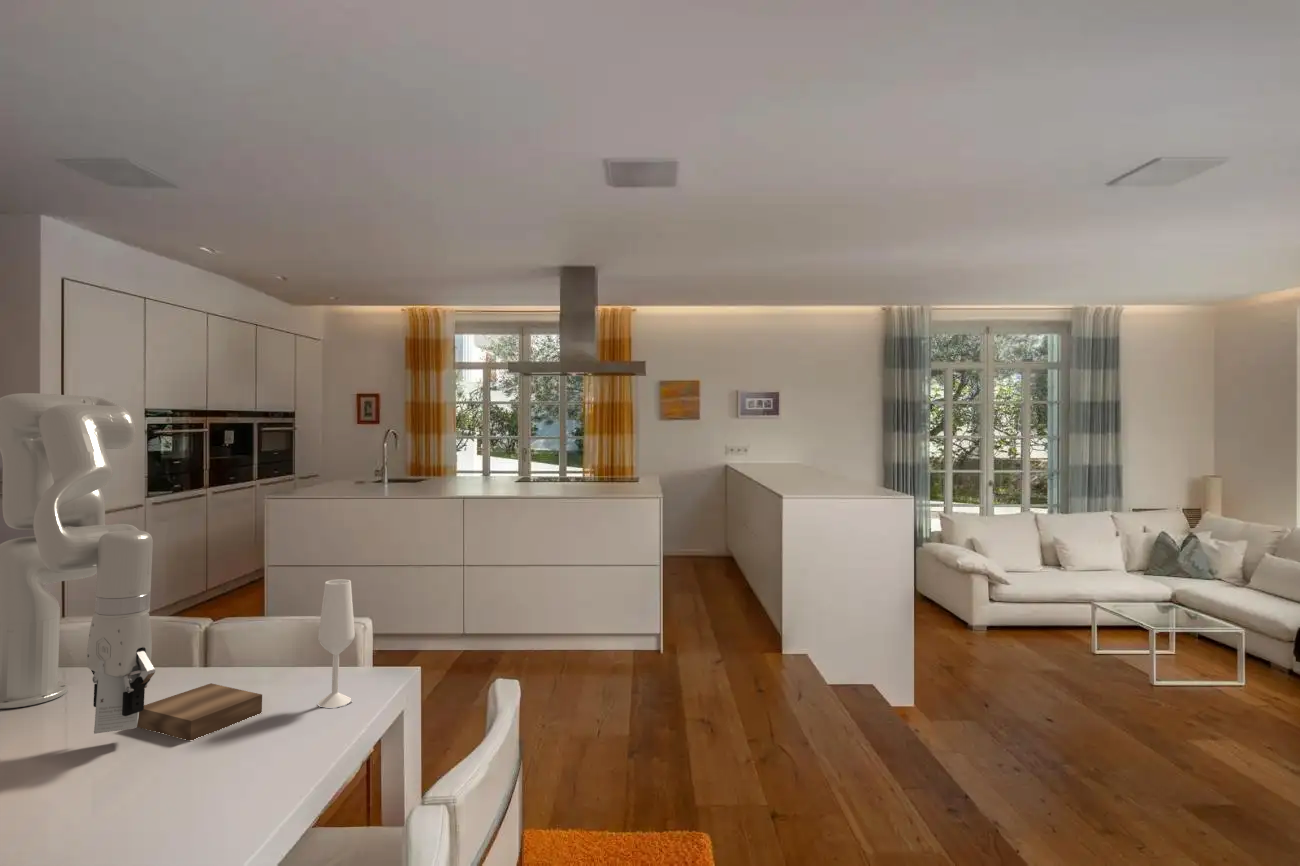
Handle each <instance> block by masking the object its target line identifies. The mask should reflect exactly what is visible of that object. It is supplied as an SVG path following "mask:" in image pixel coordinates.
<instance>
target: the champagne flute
mask: <svg viewBox="0 0 1300 866" xmlns="http://www.w3.org/2000/svg"><path fill="white" fill-rule="evenodd" d="M352 591H353V590H352V580H350V579H344V578H343V579H341V578H340V579H330V580H327V581H325V583H324V588H323V596H322V597H323V598H322V603H321V604H322V605H321V611H320V619H319V620H320V622H319V629H318V636H317V640H318V642H319V643H320V645H321V646H322V648H323V649H324V650H326V651H327V652H328V653H330V654H331V655H332V673H331V677H332V678H331V693H330V694H328V695H326V696H325V697H323V698H321V699H320V700H318V702H319V703H318V704H319V705H320V706H322V707H336V706H342V705H345V704H347V703H349V702H350V701H351V697H349V696H347V695H345V694H343V693H342V692H339V683H340V682H339V680H340V676H339V674H340V673H339V672H340V654H341V653H342V652H344V651H345V650H346V649H347V648H348V647H349V646H350V645H351V644H352V642H353V641H354V639H355V637H356V636H355V635H356V634H355V621H354V620H355V618H354V607H353V606H354V605H353V592H352Z"/></svg>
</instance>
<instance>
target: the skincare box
mask: <svg viewBox="0 0 1300 866" xmlns="http://www.w3.org/2000/svg"><path fill="white" fill-rule="evenodd" d="M104 662H105V661H102V660H100V662H99V672H98V684H97V683H96V684H97V698H96V707H95V715H94V725H93V726H94V728H93V734H94V735H95V734H102V733H108V732H109V733H111V732H117V731H125V730H132V729H136V728H138V727H137V723H138V718H139V712H137V713H134V714H131V715H128V716H123V715H122V704H123V692H126V688H125V684H124V680H123V677H121V678H117V677H113V676H109V675H106V674H104ZM136 670H138V667H136V668H133V669H132V671H131V672H133V671H136ZM136 678H137V675H134V676H131V679H132V683H133V682H134V680H135V679H136Z"/></svg>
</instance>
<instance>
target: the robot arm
mask: <svg viewBox="0 0 1300 866" xmlns="http://www.w3.org/2000/svg"><path fill="white" fill-rule="evenodd" d="M136 432H137V431H136V425H135V420H134V418H133V417H132V414H131V413H130V412H129V410H127V409H126V408H125V407H124V406H122V405H120V404H117V403H115V402H113V401H110V400H108V399H106V398H102V397H99V396H88V395H73V394H72V395H71V394H70V395H69V394H56V393H55V394H54V393H53V394H52V393H39V392H38V393H36V392H35V393H33V392H29V393H28V392H24V393H23V392H22V393H21V392H20V393H12V394H7V395H4V396H1V397H0V455H1V459H2V516H3V520H4V522H5V524H6V525H7V526H8V527H9V528H12V529H14V530H19V531H20V530H24V531H25V530H27V531H28V530H33V534H34V536H33V535H31V536H22V537H16V538H13V539H9V540H8V539H7V540H6V541H4V542H1V543H0V709H1V710H2V709H3V710H4V709H5V710H6V709H16V708H23V707H29V706H34V705H39V704H43V703H46V702H50V701H53V700H56V699H57V698H59V697H61V696H63V695H65V694H66V693H67V692H68V687H69V686H68V684H67V683H66V682H63V681H59V655H60V627H61V626H60V623H61V622H60V621H61V620H60V619H61V608H60V607H61V606H60V603H59V600H58V599H57V598H56V597H55V595H53V594H52V593H51V592H50V591H49V590H47V588H46V587H45V585H49V584H52V583H53V584H54V583H58V582H66V581H73V580H81V579H86V578H91V577H94V576H95V575H96V582H95V583H96V585H95V604H94V605H95V606H94V607H95V608H94V612H93V615H92V618H91V623H90V627H89V631H88V639H87V640H88V641H87V649H86V651H87V652H86V667H87V668H88V669H89V670H90V672H91V673H92V674H93V676H92V683H93V684H94V685H93V707H94V708H96V698H97V684H98V672H99V662H100V660H102V661H105V662H104V674H106V675H109V676H113V677H117V678H121V677H123V680H124V684H125V688H126V692H123V704H122V715H123V716H128V715H131V714H134V713H137V712H140V711H142V710H143V709H144V705H145V692H146V691H145V689H146V688H147V687H148V684H149V682H151V679H152V677H153V676H154V675H155V673H156V668H155V667H154V665H153V664H152V661H151V660H152V646H153V645H152V626H151V625H152V624H151V618H150V611H151V590H152V588H151V587H152V570H153V569H152V567H153V547H154V541H153V537H152V534H150V533H149V532H147V531H145V530H140V529H138V528H137V527H136V526H135V525H132V524H127V523H114V524H106V502H105V497H104V493H103V492H102V488H103V487H105V486H106V485H107V484H109V482H110V481H111V480H112V478H113V474H114V472H113V467H112V464H111V463H110V459H109V457H108V454H107V451H106V450H122V449H126V448H128V447H130V446H131V445H132V443H134V440H135V439H136ZM136 667H138V670H136V671H133V672H131V671H132V669H133V668H136ZM134 675H137V678H136V679H135V680H134V682H133V683H132V679H131V676H134Z"/></svg>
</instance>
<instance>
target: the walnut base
mask: <svg viewBox="0 0 1300 866" xmlns="http://www.w3.org/2000/svg"><path fill="white" fill-rule="evenodd" d="M262 710H263V694H262V693H257V692H253V691H248V690H243V689H238V688H234V687H230V686H225V685H220V684H216V683H208V684H204V685H202V686H201V685H200V686H198V687H196V688H193V689H189V690H186V691H184V692H180V693H177V694H175V695H171V696H168V697H165V698H162V699H160V700H156V701H152V702H150V703H147V704H144V709H143V710H142V711H140V712H139V718H138V723H137V727H136V728H138V727H140V728H139V729H142V728H143V729H142V730H145V729H147V730H146V731H149V730H151V731H150V732H153V731H156V732H155V733H157V732H160V733H159V734H161V733H164V734H167V735H166V736H168V735H170V736H169V737H172V736H174V737H173V738H176V737H178V738H177V739H179V738H182V739H181V740H183V739H186V740H185V741H187V740H193V741H195V740H194V739H196V738H198V737H201V736H203V737H205V736H204V735H206V734H208V735H210V734H209V733H211V734H213V733H215V732H214V731H216V732H218V731H221V730H223V729H226V728H228V727H231V726H233V725H236V724H238V723H241V722H243V721H242V720H244V721H246V720H248V719H247V718H249V717H251V718H253V717H252V716H254V717H256V716H258V715H257V714H259V715H261V714H262V713H261V712H263V711H262ZM260 713H261V714H260ZM255 715H256V716H255ZM245 719H246V720H245ZM249 719H250V718H249ZM240 721H241V722H240ZM237 722H238V723H237ZM235 723H236V724H235ZM232 724H233V725H232ZM230 725H231V726H230ZM225 727H226V728H225ZM222 728H223V729H222ZM220 729H221V730H220ZM217 730H218V731H217ZM212 732H213V733H212ZM164 734H163V735H164ZM206 736H207V735H206ZM201 738H202V737H201ZM198 739H199V738H198ZM196 740H197V739H196Z"/></svg>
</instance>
